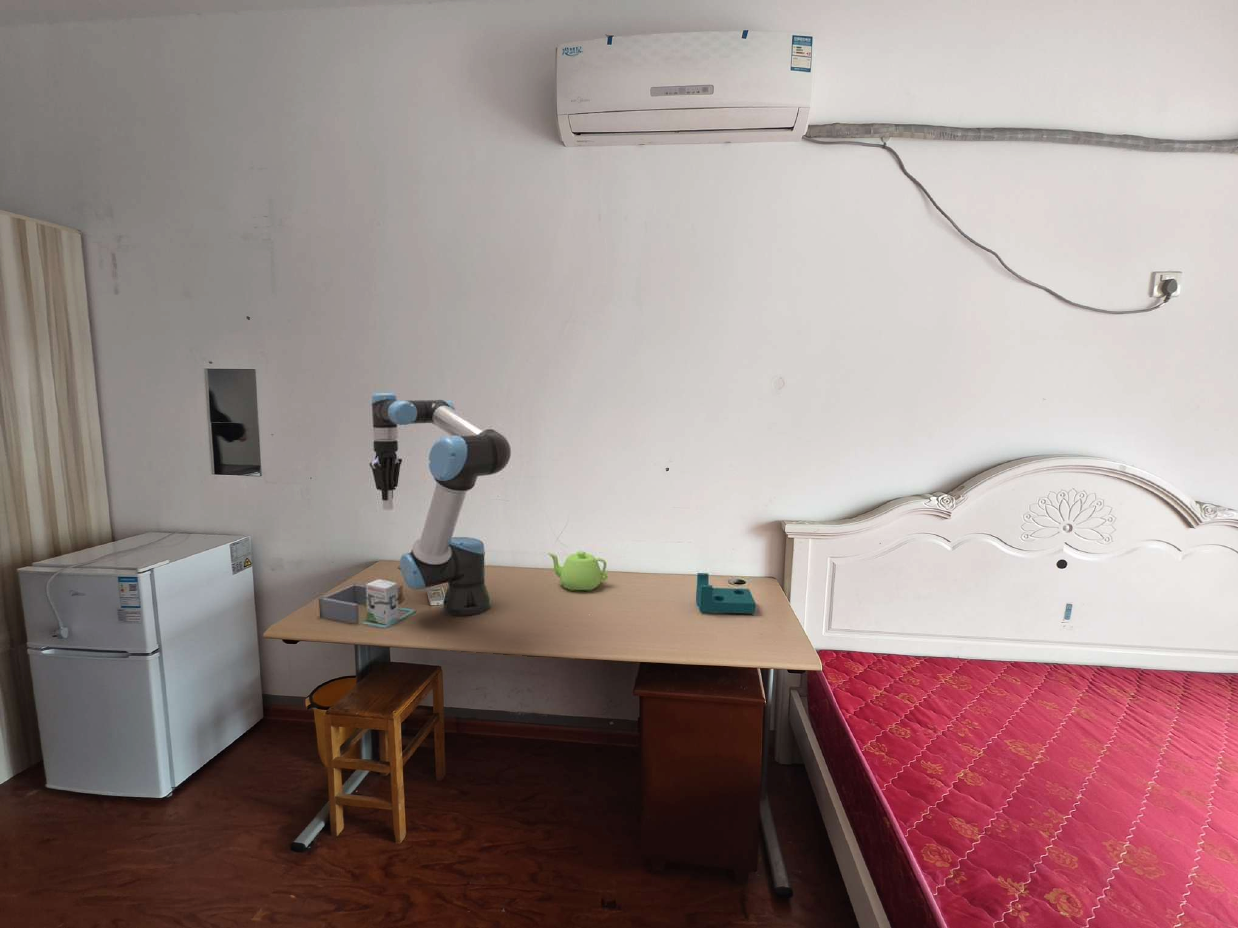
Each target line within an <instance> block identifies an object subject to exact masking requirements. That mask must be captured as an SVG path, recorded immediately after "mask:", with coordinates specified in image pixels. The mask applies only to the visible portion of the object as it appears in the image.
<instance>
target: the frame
mask: <svg viewBox="0 0 1238 928" xmlns="http://www.w3.org/2000/svg"><path fill="white" fill-rule="evenodd" d="M398 611H402V612H406V613H405V614H403V615H402V616H400V617H399V616H398V619H396V620H394V621H392V622H390V623H389V624H387V625H386V624H383V625H382V624H377V623H372V622H368V621H364V622H362V625H364V626H369V627H373V628H374V627H375V628H379V629H384V630H385V629H387V628H389V627H391V626H393V625H394V624H396V623H398V622H400V621H401V620H403V619H405V618H407V617H409V616H411V615H413V614H414V613H416V612H417V611H416V609H409V608H405V607H399V606H398Z"/></svg>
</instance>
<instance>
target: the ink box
mask: <svg viewBox="0 0 1238 928" xmlns="http://www.w3.org/2000/svg"><path fill="white" fill-rule="evenodd" d="M397 584H398V583H397V582H393V581H388V580H385V579H381V578H380V579H379V578H377V579H375V580H373V581H370V582H368V583H366V584H365V586H366V600H367V605H366V620H367V621H371V622H375V623H379V624H381V625H382V624H383V625H387V624H389V623H390V622H392V621H394V620H396V619H398V618H399V610H398V607H399V602H398V585H399V584H398V585H397Z"/></svg>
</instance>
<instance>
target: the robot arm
mask: <svg viewBox="0 0 1238 928" xmlns="http://www.w3.org/2000/svg"><path fill="white" fill-rule="evenodd" d="M453 404H454V403H452V402H451V401H450V400H443V399H437V400H436V399H434V400H433V399H431V400H430V399H429V400H421V399H419V400H409V399H408V400H403V399H402V400H399V399H398V400H397V395H396V394H395V393H390V392H389V393H388V392H387V393H386V392H385V393H384V392H383V393H382V392H379V393H378V392H376V393H373V394H372V395H371V414H372V432H373V433H372V436H373V439H374V440H373V442H372V443H373V452H374V453H375V457H374V461H371V462H370V463H369V466H370V469H371V471H372V474H373V479H374V484H375V488H376V490H378V491H381V500H382V510H385V511H390V510H393V507H394V504H393V499H394V491H396V488H397V487H398V484H399V477H400V470H401V465H402V463H403V459H402V458H399V457H398V456H397V452H398V451H399V441H398V440H397V439H398V438H399V437H398V436H399V435H398V426H408V425H411V424H413V425H414V424H432V425H435V426H436V427H437V428H439V429H440V430H442V431H443V432H445V433H446V434H448V435H449V436H445V437H441V438H439V439H437V440H436V441H435V442H434V443H433V445H432V446H431V448H430V451H429V455H428V461H429V463H428V467H429V472H430V473H431V476H432V477H433V480H434V482H435V483H436V484H435V488H434V491H433V495H432V498H431V502H430V505H429V508H428V511H427V515H426V518H425V521H424V526H423V527H422V529H423V530H422V532H421V536H420V538H419V539H417V540H416V541H414V543H413V545H412V548H411V550H410V552H406V553H402V555H401V557H400V559H399V566H400V572H401V575H402V578H403V580H404V582H405V584H406V586H407V587H408V588H409V589H410V590H412V591H419V590H426V589H428V588H432V587H436V586H440V585H443V584H447V588H446V591H445V594H444V598H443V601H442V611H444V613H446V614H449V615H451V616H460V617H462V616H463V617H464V616H466V617H467V616H473V615H478V614H481V613H484V612H485V611H487V610H488V609H490V607H491V597H490V596H489V592H488V589H487V586H486V582H485V581H486V580H485V567H486V566H485V555H486V551H485V545H484V544H485V543H483V541H482V540H480V539H478V538H475V537H468V536H454V537H453V534H454V532H455V528H456V525H457V524H458V519H459V517H460V513H461V511H462V508H463V504H464V501H465V498H466V495H467V492H468V491H471V490H472V489H473V488H474V487H475V485H476V482H477V480H478V477H481V476H482V477H484V476H490V475H491V476H492V475H495V474H497V473H499V472H501V471H503V470H504V469H505V468H506V467H507V465H508V464H509V461H510V459H511V455H512V454H511V453H512V449H511V446H510V443H509V441H508V439H507V438H506V437H505V436H504V435H503V434H501V433H500V432H498V431H496V430H495V429H492V428H485V427H483V426H482V425H480V424H478V423H477V422H474V421H473V420H471V418H468V417H466V416H465V415H463V414H461V413H460V412H458V411H456V407H455V406H454V405H453Z"/></svg>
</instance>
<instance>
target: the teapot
mask: <svg viewBox="0 0 1238 928" xmlns="http://www.w3.org/2000/svg"><path fill="white" fill-rule="evenodd" d="M547 554H548V555H549V556H550V557H551V558H552V561H553V570H554V573H555V575H556V576H557V577H559V580H560V583H561V584H562V586H563V587H564V588H566V589H568V591H587V592H590V591H593V589H596V588H598V586H599V585H600V584H601V582H602V581H607V579H608V574H607V573H606V572H605V571H606V568H607V562H606V560H605V559H604V558H601V557H598V558H596V557H595V556H594V555H593V554H590V553H586V552H585V551H581V550H580V551H577V552H576V553H573V554H570V555H568V556H567V557H566V559H565V561H564V563H563V564H562V565H563V566H562V567H561V566H560V564H559V559H558V557H557V555H556V554H554V553H550V552H548V553H547ZM599 562H601V563H603V567H602V570H601V567H600V565H599Z"/></svg>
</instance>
